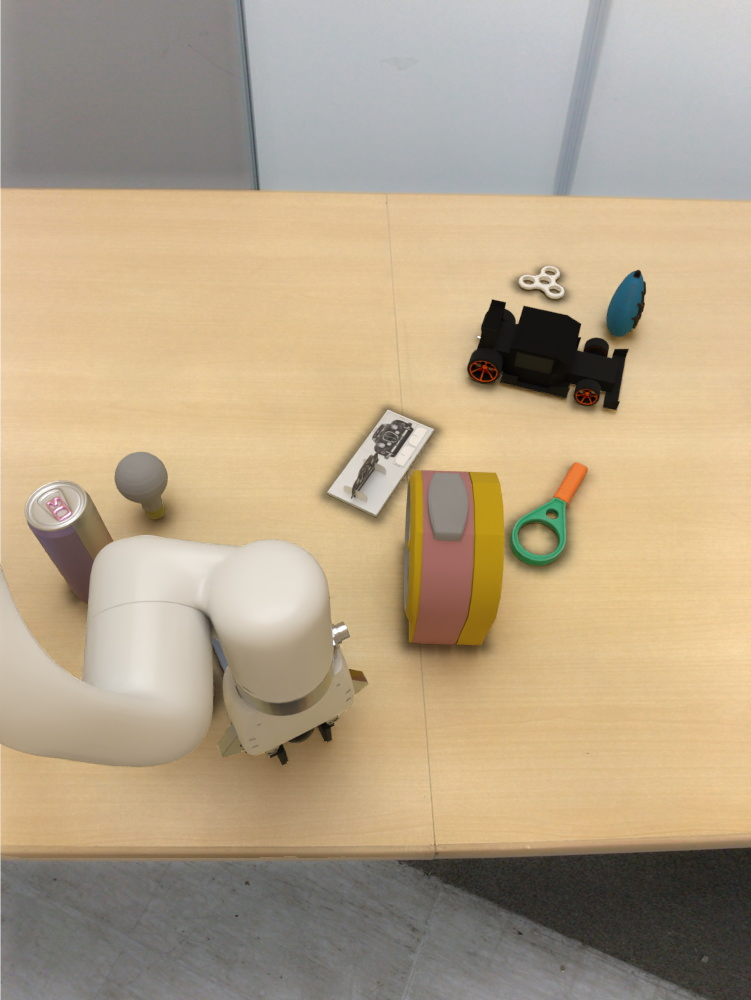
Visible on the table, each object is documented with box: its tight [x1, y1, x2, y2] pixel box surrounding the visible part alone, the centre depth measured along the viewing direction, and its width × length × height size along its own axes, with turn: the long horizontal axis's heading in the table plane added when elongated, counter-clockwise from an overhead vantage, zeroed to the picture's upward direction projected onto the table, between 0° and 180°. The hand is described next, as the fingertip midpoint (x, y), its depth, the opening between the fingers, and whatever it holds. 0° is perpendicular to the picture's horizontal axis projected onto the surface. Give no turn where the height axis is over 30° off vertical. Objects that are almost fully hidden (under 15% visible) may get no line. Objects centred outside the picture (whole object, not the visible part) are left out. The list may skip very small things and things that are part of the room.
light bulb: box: [114, 451, 169, 520], centre depth 82 cm, size 6×6×10 cm
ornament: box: [605, 269, 647, 338], centre depth 101 cm, size 8×5×10 cm, turn 160°
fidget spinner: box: [518, 265, 565, 300], centre depth 110 cm, size 7×6×1 cm
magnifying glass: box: [509, 461, 589, 567], centre depth 86 cm, size 15×6×2 cm, turn 148°
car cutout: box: [326, 409, 435, 518], centre depth 89 cm, size 15×7×4 cm, turn 151°
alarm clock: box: [403, 469, 505, 646], centre depth 73 cm, size 15×8×18 cm, turn 178°
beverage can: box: [24, 479, 115, 604], centre depth 74 cm, size 6×6×15 cm
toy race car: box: [466, 298, 630, 411], centre depth 97 cm, size 10×20×7 cm, turn 72°
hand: (300, 738), depth 69 cm, fingers open, 3 cm apart
